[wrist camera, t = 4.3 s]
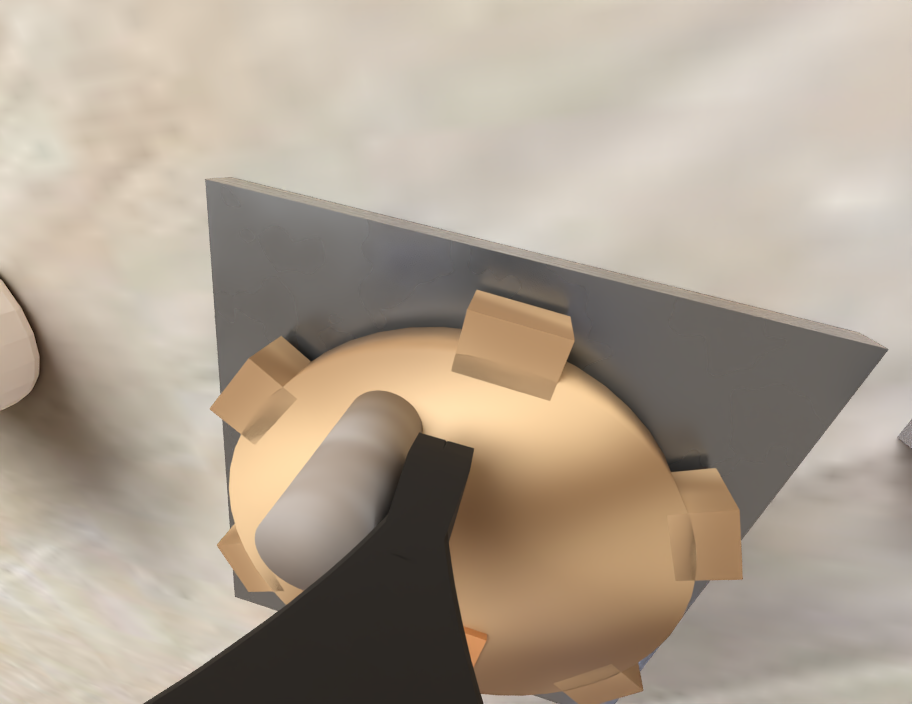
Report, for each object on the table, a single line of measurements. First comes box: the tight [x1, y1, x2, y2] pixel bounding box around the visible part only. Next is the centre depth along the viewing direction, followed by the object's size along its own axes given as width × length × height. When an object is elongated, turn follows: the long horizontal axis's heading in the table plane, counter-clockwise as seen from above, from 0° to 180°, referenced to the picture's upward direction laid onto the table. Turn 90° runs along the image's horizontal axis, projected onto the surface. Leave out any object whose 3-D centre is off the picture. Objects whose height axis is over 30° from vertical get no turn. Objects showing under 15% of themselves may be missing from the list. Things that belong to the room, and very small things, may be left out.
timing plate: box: [205, 177, 888, 704], centre depth 15 cm, size 18×17×1 cm
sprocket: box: [210, 290, 743, 704], centre depth 11 cm, size 16×15×6 cm
